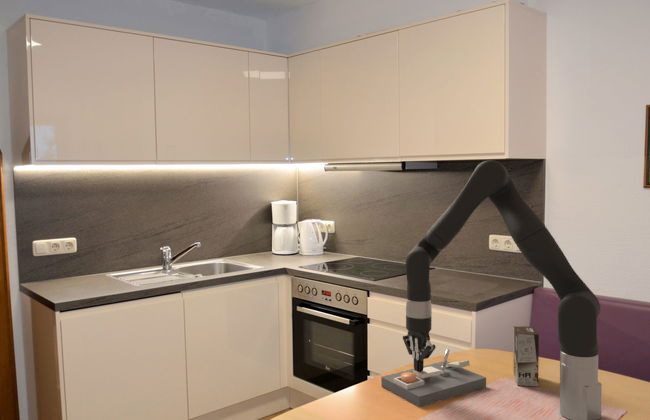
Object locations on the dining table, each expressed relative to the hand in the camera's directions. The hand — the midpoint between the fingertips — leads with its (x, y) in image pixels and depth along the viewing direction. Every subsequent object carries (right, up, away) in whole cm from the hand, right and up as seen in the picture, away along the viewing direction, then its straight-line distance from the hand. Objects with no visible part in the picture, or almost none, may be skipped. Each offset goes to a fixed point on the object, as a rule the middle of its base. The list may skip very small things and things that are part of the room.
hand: (418, 370), depth 166 cm
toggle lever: (+8, -1, +5) cm, 10 cm away
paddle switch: (+14, -1, +8) cm, 16 cm away
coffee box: (+34, -5, +6) cm, 35 cm away
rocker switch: (+3, -1, +2) cm, 4 cm away
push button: (-3, -3, -2) cm, 5 cm away
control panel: (+5, -6, +3) cm, 8 cm away
